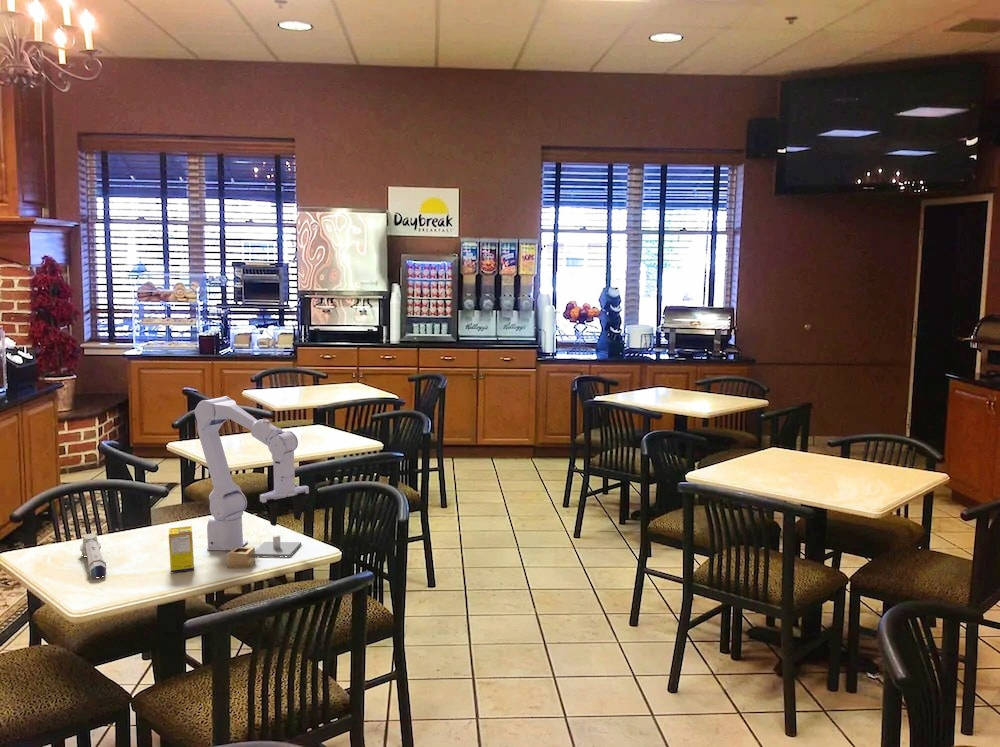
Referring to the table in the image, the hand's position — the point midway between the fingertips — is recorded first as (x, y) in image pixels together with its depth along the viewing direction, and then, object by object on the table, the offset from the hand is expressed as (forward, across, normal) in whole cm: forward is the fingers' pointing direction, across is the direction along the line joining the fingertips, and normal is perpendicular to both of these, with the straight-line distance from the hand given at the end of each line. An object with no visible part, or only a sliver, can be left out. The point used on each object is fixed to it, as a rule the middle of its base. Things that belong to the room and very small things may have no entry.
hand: (285, 522), depth 237 cm
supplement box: (+10, -26, +11) cm, 30 cm away
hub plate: (+10, 0, +6) cm, 11 cm away
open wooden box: (+10, -13, +2) cm, 16 cm away
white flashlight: (+10, -41, +31) cm, 53 cm away
